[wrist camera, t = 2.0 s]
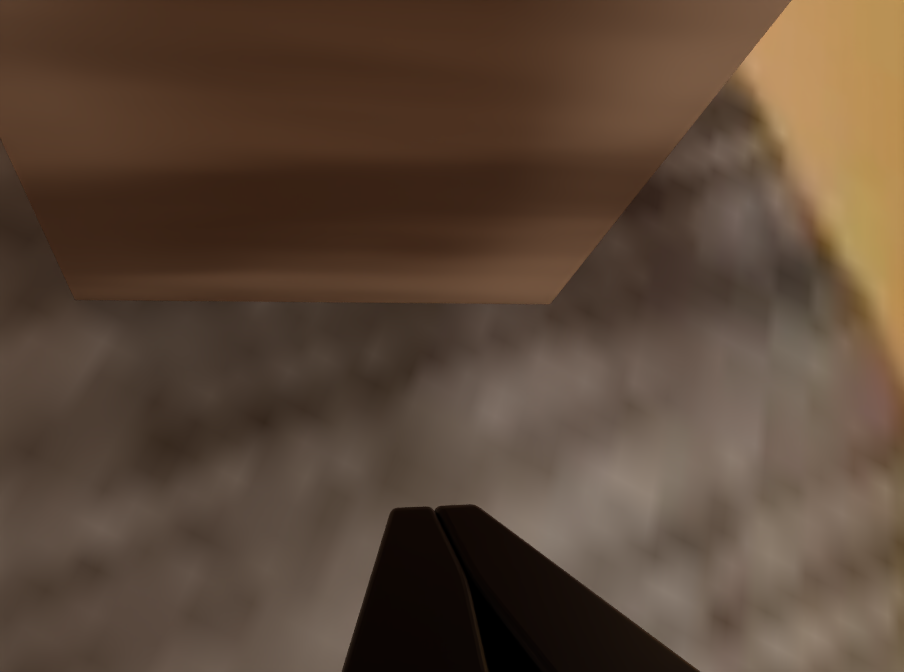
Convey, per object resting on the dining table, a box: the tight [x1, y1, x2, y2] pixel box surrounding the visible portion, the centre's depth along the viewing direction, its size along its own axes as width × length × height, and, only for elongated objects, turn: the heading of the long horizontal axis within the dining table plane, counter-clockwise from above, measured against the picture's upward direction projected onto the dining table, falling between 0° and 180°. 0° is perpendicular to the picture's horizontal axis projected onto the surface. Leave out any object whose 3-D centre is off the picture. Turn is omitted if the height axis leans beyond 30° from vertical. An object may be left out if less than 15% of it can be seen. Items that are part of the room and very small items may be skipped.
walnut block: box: [0, 0, 791, 304], centre depth 14 cm, size 4×10×11 cm, turn 95°
